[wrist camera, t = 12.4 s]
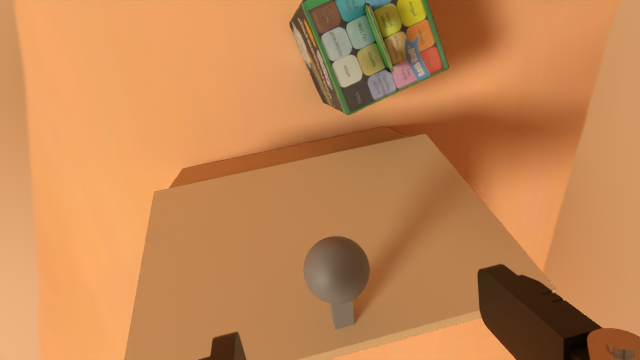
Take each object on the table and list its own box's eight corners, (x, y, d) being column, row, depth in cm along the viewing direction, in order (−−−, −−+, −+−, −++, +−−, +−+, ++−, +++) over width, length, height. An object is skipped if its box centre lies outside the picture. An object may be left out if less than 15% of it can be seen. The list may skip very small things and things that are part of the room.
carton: (182, 168, 40) (160, 199, 31) (384, 126, 43) (422, 142, 33) (221, 299, 45) (212, 360, 35) (401, 254, 47) (438, 301, 38)
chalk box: (400, 70, 41) (477, 70, 27) (322, 106, 41) (359, 125, 27) (369, -19, 38) (438, -70, 24) (285, 19, 38) (305, -10, 24)
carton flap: (157, 199, 31) (123, 130, 27) (424, 141, 33) (430, 69, 29) (123, 415, 18) (49, 348, 14) (552, 298, 21) (594, 212, 17)
